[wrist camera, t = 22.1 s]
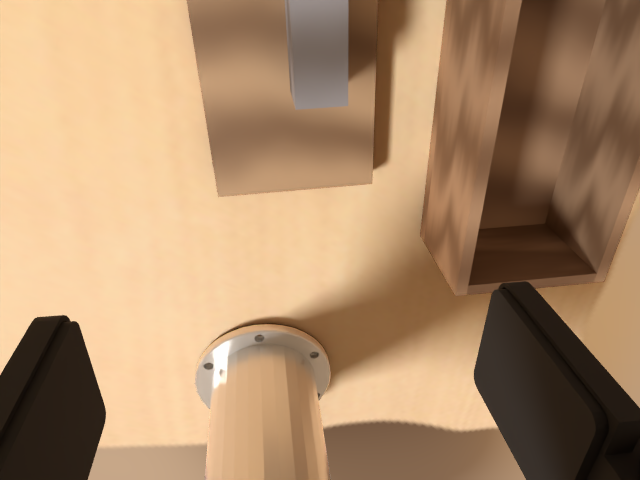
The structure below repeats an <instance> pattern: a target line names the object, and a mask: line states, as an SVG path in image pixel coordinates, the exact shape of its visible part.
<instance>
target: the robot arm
mask: <svg viewBox="0 0 640 480" xmlns="http://www.w3.org/2000/svg"><path fill="white" fill-rule="evenodd" d="M330 376H331V371H330V364H329V360H328V356H327V354H326V352H325V350H324V349H323V347H322V346H321V345H320V343H319V342H318V341H317V340H316V339H314V338H313V337H311V336H310V335H308V334H307V333H305V332H303V331H300V330H298V329H296V328H292V327H288V326H284V325H275V324H260V325H252V326H247V327H242V328H239V329H237V330H234V331H231V332H229V333H227V334H225V335H223V336H222V337H220V338H218V339H217V340H216V341H214V342H213V343H212V344H211V345H209V347H208V348H207V349H206V350H205V351H204V353H203V354H202V356H201V358H200V360H199V362H198V364H197V369H196V378H195V385H196V390H197V393H198V395H199V397H200V399H201V401H202V402H203V403H204V404H205V405H206V406H207V407H208V408H209V409H210V419H209V431H208V444H207V457H206V470H205V480H331V478H330V471H329V465H328V459H327V452H326V445H325V439H324V433H323V426H322V420H321V413H320V407H319V400H320V399H321V398H322V396H323V395H324V393H325V392H326V390H327V388H328V385H329V383H330ZM474 380H475V384H476V387H477V389H478V391H479V393H480V394H481V396H482V398H483V400H484V402H485V404H486V406H487V407H488V409H489V411H490V413H491V415H492V417H493V419H494V420H495V422H496V424H497V426H498V428H499V430H500V432H501V433H502V435H503V437H504V439H505V441H506V443H507V445H508V446H509V448H510V450H511V452H512V454H513V456H514V458H515V459H516V461H517V463H518V465H519V467H520V469H521V471H522V472H523V474H524V476H525V478H526V480H640V408H639V407H638V406H637V405H636V403H635V402H634V401H633V400H632V399H631V398H630V396H629V395H628V394H627V393H626V392H625V391H624V390H623V389H622V388H621V386H620V385H619V384H618V383H617V382H616V381H615V379H614V378H613V377H612V376H611V375H610V374H609V373H608V372H607V370H606V369H605V368H604V367H603V366H602V365H601V363H600V362H599V361H598V360H597V359H596V358H595V357H594V355H593V354H592V353H591V352H590V351H589V350H588V349H587V347H586V346H585V345H584V344H583V343H582V342H581V341H580V340H579V338H578V337H577V336H576V335H575V334H574V333H573V332H572V330H571V329H570V328H569V327H568V326H567V325H566V324H565V322H564V321H563V320H562V319H561V318H560V317H559V316H558V314H557V313H556V312H555V311H554V310H553V309H552V308H551V306H550V305H549V304H548V303H547V302H546V301H545V300H544V299H543V297H542V296H541V295H540V294H539V293H538V292H537V291H536V289H535V288H534V287H533V286H532V285H531V284H530V283H529V282H526V281H521V282H507V283H502V284H501V285H500V286H499V288H498V289H496V290H494V291H493V293H492V296H491V300H490V304H489V309H488V313H487V317H486V322H485V326H484V330H483V335H482V339H481V343H480V348H479V352H478V357H477V361H476V365H475V370H474ZM105 418H106V411H105V406H104V402H103V399H102V396H101V393H100V390H99V387H98V383H97V380H96V377H95V374H94V371H93V368H92V364H91V361H90V358H89V355H88V352H87V349H86V346H85V342H84V339H83V336H82V333H81V330H80V327H79V324H78V323H77V322H75V321H72V322H70V319H69V318H68V317H67V316H65V315H62V316H48V317H37V318H35V319H34V320H33V321H32V323H31V324H30V326H29V328H28V330H27V331H26V333H25V335H24V336H23V338H22V340H21V341H20V343H19V345H18V346H17V348H16V350H15V351H14V353H13V355H12V356H11V358H10V360H9V361H8V363H7V365H6V366H5V368H4V370H3V371H2V373H1V375H0V480H88V476H89V473H90V469H91V467H92V463H93V460H94V457H95V453H96V450H97V447H98V444H99V441H100V437H101V434H102V431H103V428H104V424H105Z"/></svg>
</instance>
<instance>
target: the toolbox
mask: <svg viewBox="0 0 640 480" xmlns="http://www.w3.org/2000/svg"><path fill="white" fill-rule="evenodd" d="M639 188H640V0H447V2H446V11H445V20H444V28H443V37H442V46H441V55H440V64H439V73H438V82H437V90H436V99H435V108H434V117H433V126H432V135H431V144H430V152H429V161H428V170H427V179H426V188H425V197H424V206H423V215H422V223H421V232H420V236H421V238H422V240H423V241H424V243H425V245H426V247H427V248H428V250H429V252H430V253H431V255H432V257H433V259H434V260H435V262H436V264H437V265H438V267H439V269H440V271H441V272H442V274H443V276H444V278H445V279H446V281H447V283H448V284H449V286H450V288H451V290H452V291H453V293H454V295H455V296H461V295H471V294H482V293H492V292H493V291H494V290H496V289H498V288H499V286H500V285H501V284H502V283H507V282H521V281H526V282H529V283H530V284H531V285H532V286H533V287H534V288H544V287H554V286H564V285H575V284H585V283H595V282H604V281H605V278H606V275H607V273H608V270H609V267H610V265H611V262H612V259H613V257H614V254H615V251H616V249H617V246H618V244H619V241H620V238H621V236H622V233H623V230H624V228H625V225H626V222H627V220H628V217H629V214H630V212H631V209H632V206H633V204H634V201H635V198H636V196H637V193H638V191H639Z"/></svg>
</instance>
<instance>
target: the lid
mask: <svg viewBox="0 0 640 480" xmlns="http://www.w3.org/2000/svg"><path fill="white" fill-rule="evenodd" d="M187 4H188V11H189V17H190V23H191V29H192V36H193V42H194V48H195V54H196V61H197V67H198V73H199V79H200V86H201V92H202V98H203V104H204V111H205V117H206V123H207V129H208V136H209V142H210V148H211V154H212V161H213V167H214V173H215V179H216V186H217V192H218V197H222V196H234V195H246V194H258V193H270V192H282V191H293V190H305V189H317V188H329V187H341V186H353V185H364V184H372V177H373V145H374V113H375V82H376V50H377V19H378V0H187Z"/></svg>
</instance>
